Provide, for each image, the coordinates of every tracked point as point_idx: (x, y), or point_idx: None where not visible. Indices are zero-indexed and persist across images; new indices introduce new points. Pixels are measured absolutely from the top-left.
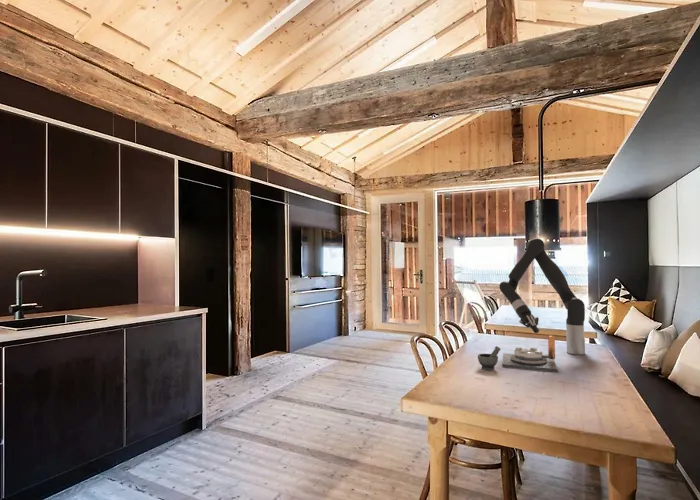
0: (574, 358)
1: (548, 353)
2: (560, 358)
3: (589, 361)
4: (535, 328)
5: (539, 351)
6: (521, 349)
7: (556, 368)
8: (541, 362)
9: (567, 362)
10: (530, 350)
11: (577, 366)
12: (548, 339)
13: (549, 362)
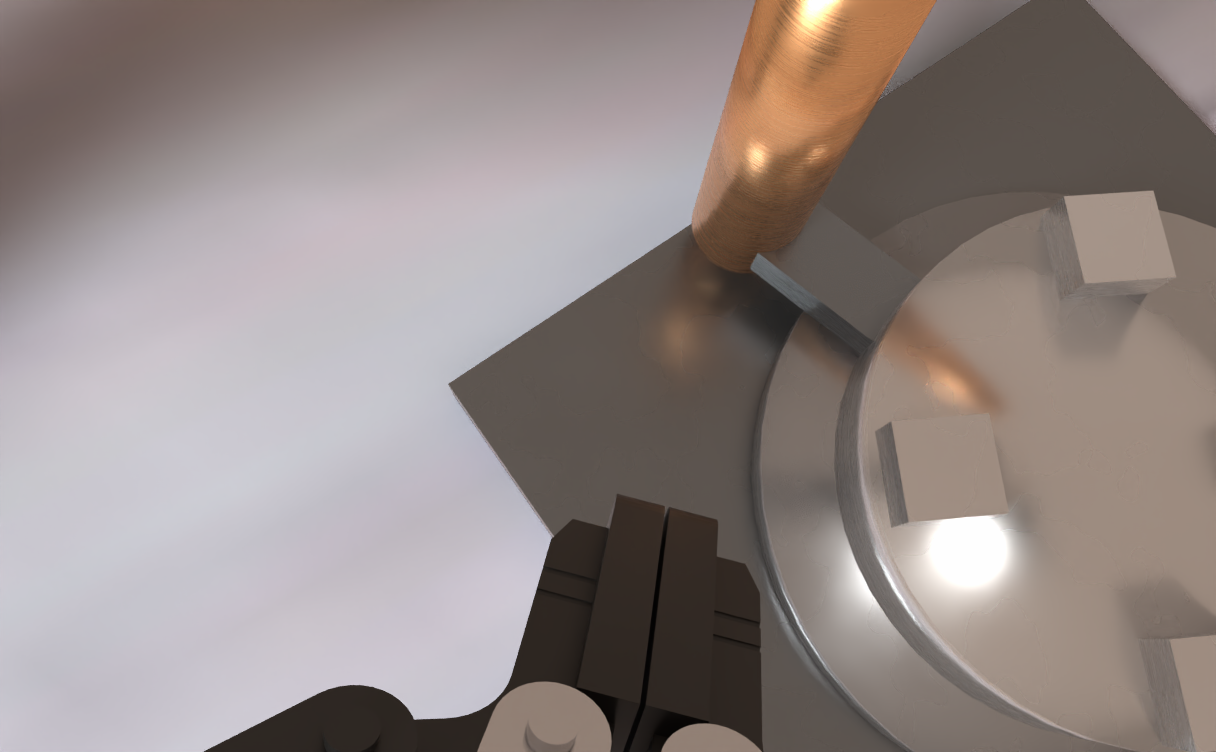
0: (47, 255)
1: (806, 220)
2: (241, 383)
3: (74, 42)
4: (711, 598)
5: (1103, 215)
6: (1164, 637)
7: (1047, 4)
8: None
9: (418, 187)
10: (1006, 499)
11: (527, 7)
12: (911, 42)
13: None
